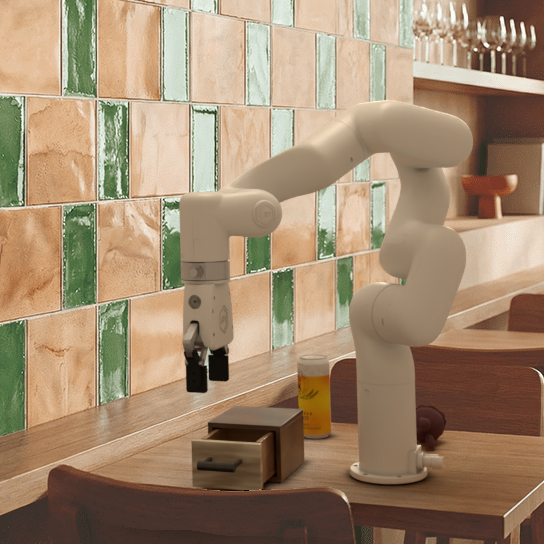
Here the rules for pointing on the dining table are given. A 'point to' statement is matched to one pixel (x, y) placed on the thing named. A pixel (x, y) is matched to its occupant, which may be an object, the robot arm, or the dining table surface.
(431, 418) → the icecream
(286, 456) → the cabinet
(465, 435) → the dining table surface
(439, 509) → the dining table surface
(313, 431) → the beer can
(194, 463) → the drawer
